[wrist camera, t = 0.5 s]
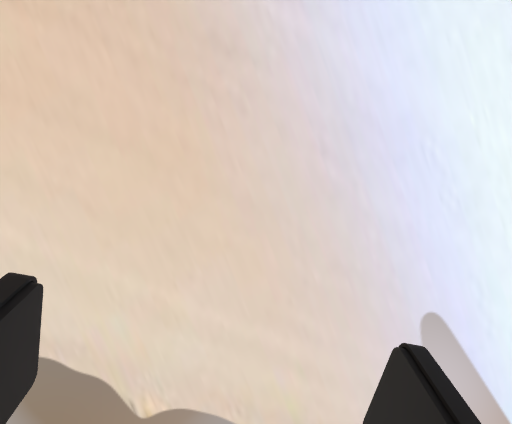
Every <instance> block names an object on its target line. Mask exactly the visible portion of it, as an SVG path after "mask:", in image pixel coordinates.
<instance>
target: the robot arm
mask: <svg viewBox="0 0 512 424" xmlns="http://www.w3.org/2000/svg"><path fill="white" fill-rule="evenodd" d="M42 300H43V285H42V284H39V283H37V279H36V278H35V277H34V276H28V275H22V274H17V273H8V274H6V275H5V276H3V277H2V278H1V279H0V424H6V422H7V421H8V419H9V418H10V417H11V415H12V414H13V412H14V411H15V409H16V408H17V407H18V405H19V403H20V402H21V401H22V399H23V398H24V397H25V395H26V394H27V392H28V391H29V390H30V388H31V387H32V385H33V383H34V381H35V378H36V375H37V370H38V356H39V342H40V328H41V314H42ZM363 424H481V423H480V421H479V420H478V419H477V417H476V416H475V414H474V413H473V412H472V410H471V409H470V408H469V407H468V405H467V403H466V402H465V401H464V399H463V398H462V397H461V395H460V394H459V392H458V391H457V390H456V388H455V387H454V386H453V384H452V383H451V381H450V380H449V379H448V378H447V376H446V375H445V373H444V372H443V371H442V369H441V368H440V366H439V365H438V364H437V362H436V361H435V360H434V358H433V357H432V356H431V354H430V353H429V351H428V350H427V349H426V348H425V347H423V346H418V345H412V344H407V343H402V344H401V345H400V346H399V347H396V348H394V349H393V351H392V353H391V355H390V358H389V360H388V363H387V365H386V367H385V370H384V372H383V375H382V377H381V379H380V382H379V384H378V387H377V389H376V392H375V394H374V396H373V399H372V401H371V404H370V406H369V408H368V411H367V413H366V416H365V418H364V421H363Z"/></svg>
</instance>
